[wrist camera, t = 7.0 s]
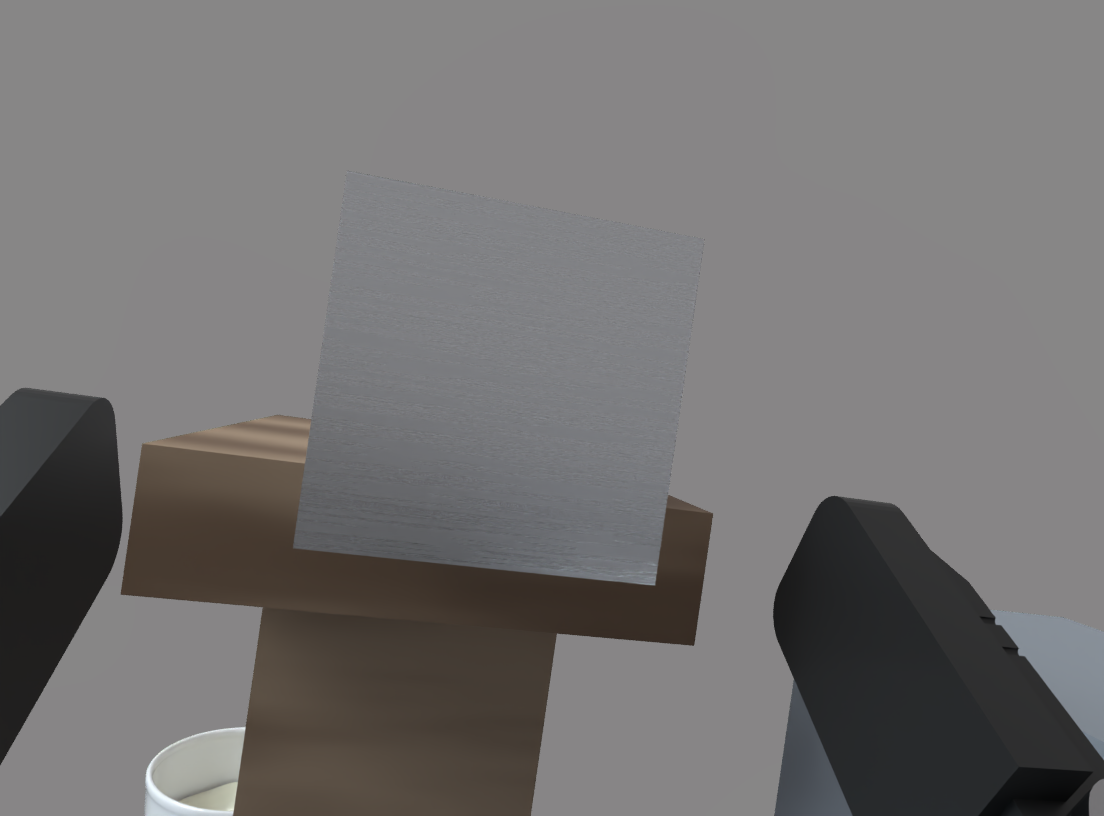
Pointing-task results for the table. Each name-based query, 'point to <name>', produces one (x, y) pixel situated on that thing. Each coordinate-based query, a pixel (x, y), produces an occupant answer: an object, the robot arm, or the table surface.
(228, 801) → the candle holder
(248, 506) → the walnut pedestal
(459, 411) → the aluminium bar
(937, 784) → the robot arm
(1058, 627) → the slate plinth
